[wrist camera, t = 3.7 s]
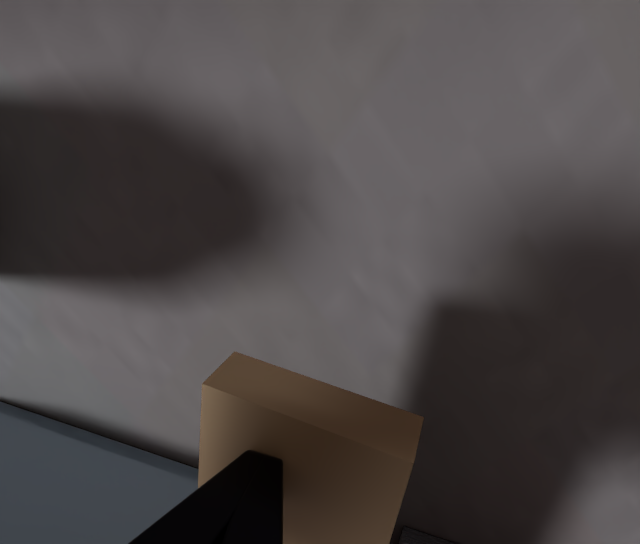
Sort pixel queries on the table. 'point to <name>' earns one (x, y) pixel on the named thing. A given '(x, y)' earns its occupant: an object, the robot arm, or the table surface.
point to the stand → (419, 537)
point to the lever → (312, 448)
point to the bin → (80, 484)
